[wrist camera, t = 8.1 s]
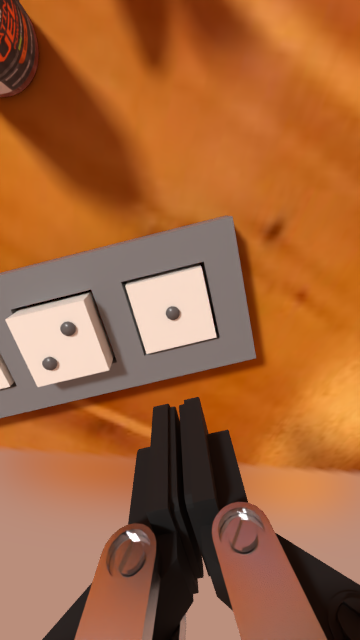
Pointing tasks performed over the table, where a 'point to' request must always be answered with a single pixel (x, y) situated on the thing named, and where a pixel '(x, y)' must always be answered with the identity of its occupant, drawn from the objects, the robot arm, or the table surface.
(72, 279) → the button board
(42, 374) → the tile
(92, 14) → the table surface
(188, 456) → the robot arm
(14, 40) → the supplement bottle
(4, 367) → the tile
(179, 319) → the tile
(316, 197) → the table surface
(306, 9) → the table surface
